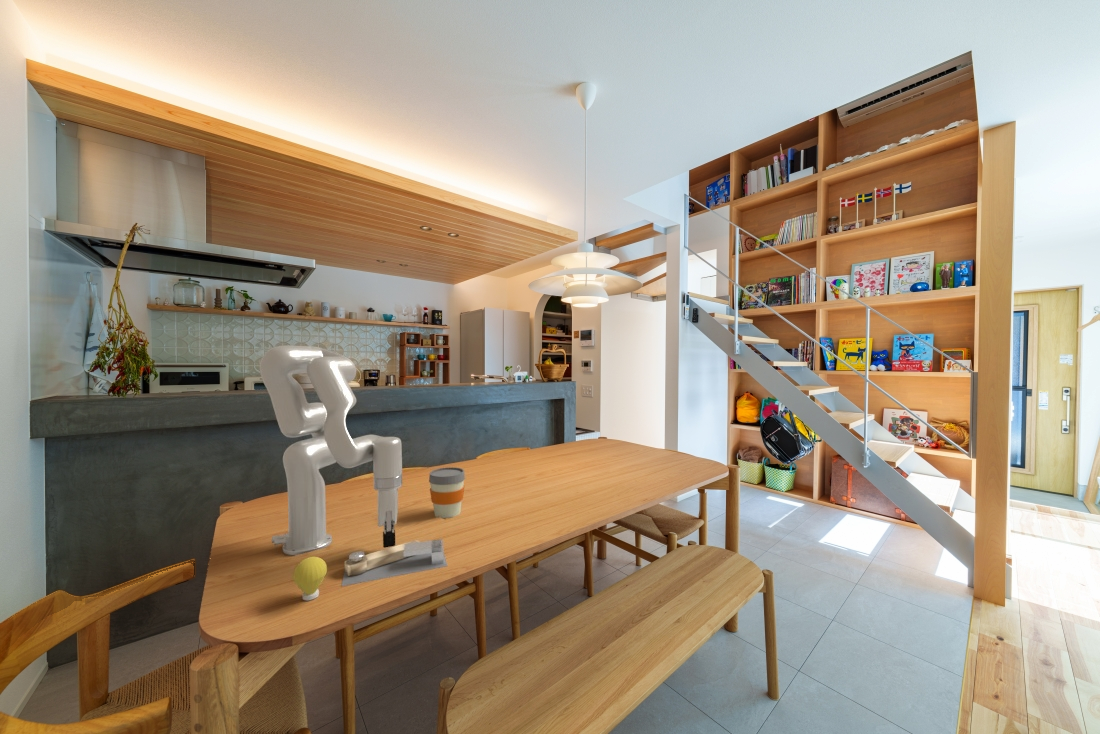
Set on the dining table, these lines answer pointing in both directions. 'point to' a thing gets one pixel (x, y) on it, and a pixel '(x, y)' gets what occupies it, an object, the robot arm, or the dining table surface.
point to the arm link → (376, 559)
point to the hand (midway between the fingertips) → (389, 545)
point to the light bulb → (310, 576)
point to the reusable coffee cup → (447, 491)
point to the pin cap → (356, 556)
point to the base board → (395, 569)
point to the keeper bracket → (426, 549)
